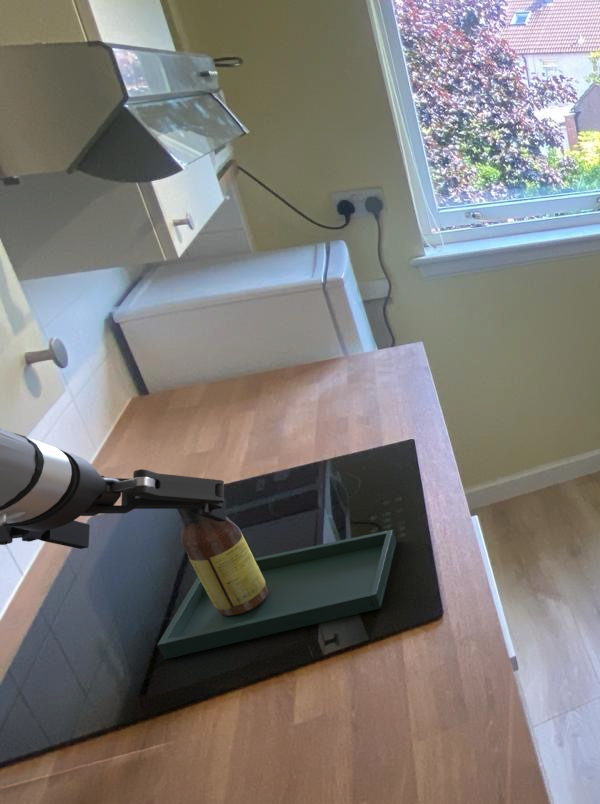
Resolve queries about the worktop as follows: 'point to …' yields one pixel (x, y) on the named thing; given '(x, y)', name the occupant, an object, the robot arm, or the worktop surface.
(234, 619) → the tray
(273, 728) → the worktop surface
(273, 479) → the worktop surface
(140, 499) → the robot arm
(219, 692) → the worktop surface
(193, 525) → the sauce bottle
